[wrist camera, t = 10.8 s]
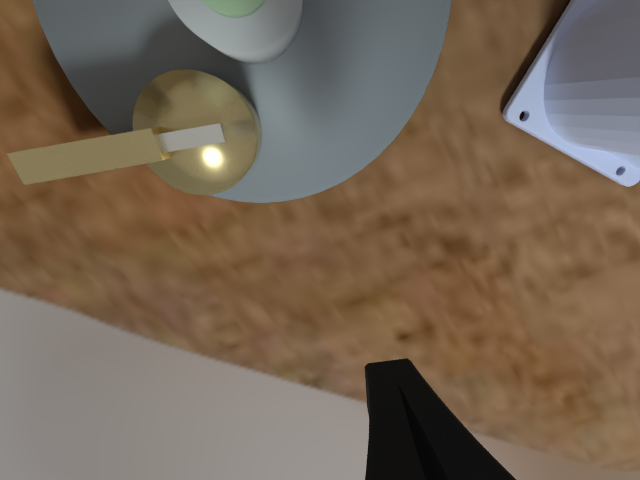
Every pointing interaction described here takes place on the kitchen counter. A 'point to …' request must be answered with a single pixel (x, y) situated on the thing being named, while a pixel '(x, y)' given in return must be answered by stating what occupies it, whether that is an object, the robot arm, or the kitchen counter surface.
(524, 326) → the kitchen counter surface
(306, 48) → the plate
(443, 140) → the kitchen counter surface
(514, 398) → the kitchen counter surface
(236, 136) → the knob
